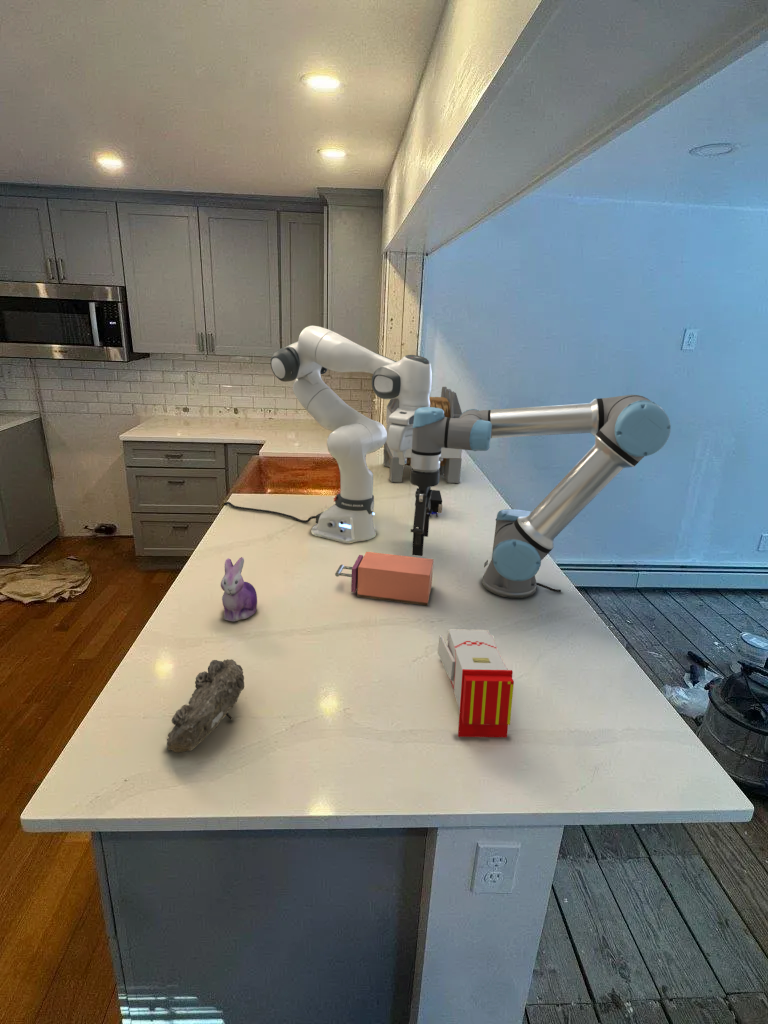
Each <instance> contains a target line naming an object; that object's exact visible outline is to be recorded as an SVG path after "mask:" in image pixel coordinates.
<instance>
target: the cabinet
mask: <svg viewBox="0 0 768 1024" xmlns="http://www.w3.org/2000/svg"><path fill="white" fill-rule="evenodd" d="M433 570H434V559H433V558H426V557H419V556H410V555H409V556H408V555H400V554H391V553H383V552H382V553H381V552H372V551H365V553H364V555H363V559H362V561H361V563H360V565H359V567H358V588H357V591H356V592H357V595H356V597H357V598H362V599H363V598H364V599H370V600H371V599H372V600H380V601H388V602H395V603H403V604H411V605H419V606H427V607H428V605H429V601H430V596H431V592H432V588H433V587H432V586H433V573H434V571H433Z"/></svg>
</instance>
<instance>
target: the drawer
mask: <svg viewBox="0 0 768 1024" xmlns="http://www.w3.org/2000/svg"><path fill="white" fill-rule="evenodd" d="M363 557H364V555H363V554H358V556H357V558H356V560H355V561H354V564H353V565H352V566H345V565H344V564H340V565H339V567H338V568H337V570H336V571H335V573H334V575H335V577H340V576H341V577H347V578H348V577H349V578H351V579H350V580H351V585H350V593H356V592H357V591H358V567H359V565H360V563H361V561H362V559H363ZM344 570H351V573H345V572H343V571H344Z"/></svg>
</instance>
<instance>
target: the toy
mask: <svg viewBox="0 0 768 1024" xmlns="http://www.w3.org/2000/svg"><path fill="white" fill-rule="evenodd" d="M446 640H447V643H446V641H445V639H444V636H443V635H442V634H439V637H438V646H437V656H438V657H439V659H440V661H441V663H442V666H443V668H444V670H445V672H446V674H447V677H448V679H449V681H450V684H451V687H452V690H453V693H454V697H455V701H456V705H457V708H458V711H459V714H458V715H459V716H458V730H457V731H458V732H457V737H458V738H508V731H509V726H510V725H511V717H512V707H513V697H514V696H513V695H514V684H515V680H514V679H513V673H514V671H513V670H512V669H508V667H507V665H506V662H505V661H504V659H503V658H502V655H501V653H500V651H499V649H498V647H497V643H496V639H495V637H494V635H493V634H491V632H490V631H489V629H467V628H466V629H465V628H463V629H461V628H460V629H459V628H448V630H447V639H446Z"/></svg>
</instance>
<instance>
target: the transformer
mask: <svg viewBox="0 0 768 1024" xmlns="http://www.w3.org/2000/svg"><path fill="white" fill-rule="evenodd" d="M440 393H441V394H440V396H429V400H430V407H435V408H440V409H442V410H443V411H444V415H445V417H448V418H457V419H459V417H460V415H461V414H462V413H463V411H462V408H461V405H460V402H459V398H458V395H457V392H455V391H453V390H452V389H451V388H447V386H442V387H441V392H440ZM397 408H399V399H398V398H397V399H389V402H388V404H387V405H386V413H385V414H386V415H385V423H386V427H385V429H386V431H387V440H386V443H385V444H384V445H383V466H384V467H388V468H389V475H388V476H389V477H388V478H389V480H390V482H391V483H402V482H403V475H404V469H405V466H406V467H407V466H410V467H411V451H412V448H410V449H407V450H406V453H405V458H407V461H406V462H407V463H406V464H405V465H400V464H399V457H398V455H397V452H396V451H391V450H390V449H389V446H388V433H389V427H390V425H391V424H392V423H389V416H390V415H391V414H392V413H393V412H394V411H395V410H396V409H397ZM462 453H463V450H462V449H452V448H441V456H440V457H442V458H443V461H440V468H439V469H438V470H439V471H440V474H441V475H443V478H444V479H445V481H446V482H447V483H449V484H455V483H456V484H459V483H461V472H462V461H463V460H462Z"/></svg>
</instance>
